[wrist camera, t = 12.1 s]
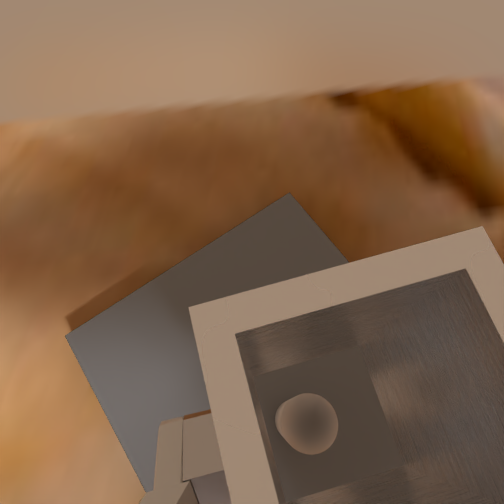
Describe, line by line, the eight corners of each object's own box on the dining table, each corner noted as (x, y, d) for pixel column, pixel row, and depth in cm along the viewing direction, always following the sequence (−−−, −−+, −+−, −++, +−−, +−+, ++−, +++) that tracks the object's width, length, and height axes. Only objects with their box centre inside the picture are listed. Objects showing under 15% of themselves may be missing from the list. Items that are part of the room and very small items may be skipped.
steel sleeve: (429, 481, 12) (682, 588, 5) (272, 531, 12) (281, 731, 4) (368, 324, 14) (482, 226, 7) (230, 364, 14) (188, 307, 6)
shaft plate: (549, 513, 20) (777, 593, 11) (298, 763, 17) (339, 1149, 8) (288, 203, 27) (300, 101, 18) (76, 340, 24) (-35, 297, 15)
